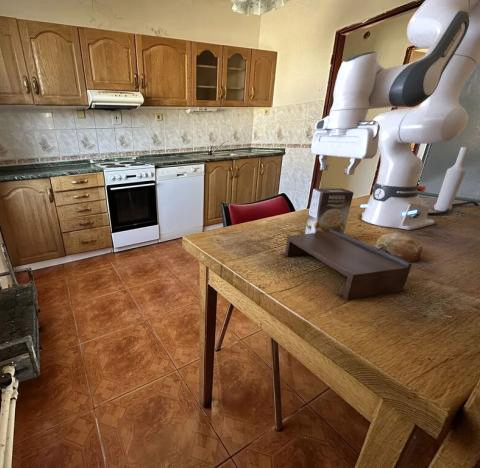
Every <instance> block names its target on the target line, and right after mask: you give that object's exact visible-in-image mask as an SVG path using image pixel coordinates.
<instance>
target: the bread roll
mask: <svg viewBox="0 0 480 468" xmlns="http://www.w3.org/2000/svg"><path fill="white" fill-rule="evenodd" d="M374 247H375V248H378V249H380V250H382V251H385V252H387V253H389V254H391V255H394V256H396V257H398V258H401V259H403V260H405V261H407V262H410V263H412V262H416V261H418V259H419V258H420V256H421V254H422V252H423V246H422V244H421V243H420V241H418V239H416V238H415V237H414V236H412V235H410V234H408V233H404V232H402V233H401V232H392V233H385V234H383V235H380V236H379V237H378V238H377V239H376V241H375V245H374Z"/></svg>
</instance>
